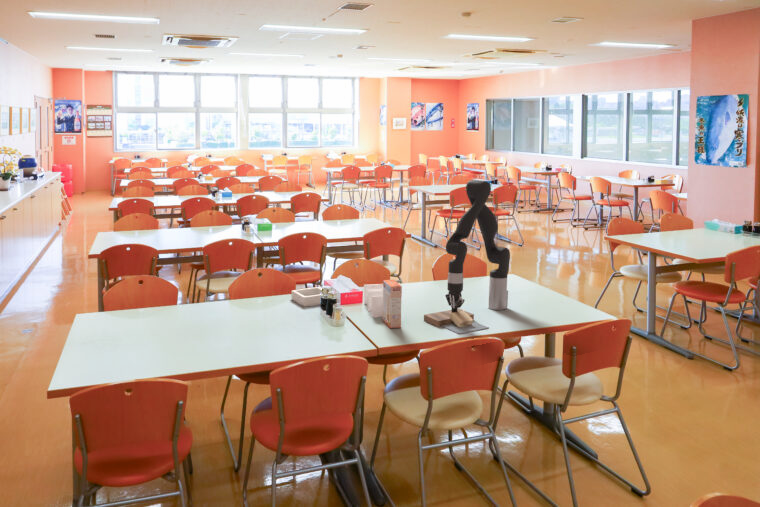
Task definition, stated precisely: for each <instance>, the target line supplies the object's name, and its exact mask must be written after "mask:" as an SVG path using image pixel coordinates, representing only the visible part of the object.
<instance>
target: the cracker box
mask: <svg viewBox="0 0 760 507" xmlns="http://www.w3.org/2000/svg"><path fill="white" fill-rule="evenodd" d="M382 284H383V317H382V321H383V322H384V323H385V325H386V326H387V327H388V328H389V329H398V328H401V327H402V297H403V296H402V295H403V292H402V291H403V290H402V288H403V287H402V285H401V284H399V283H398V282H397V281H396V280H395V279H383V282H382Z"/></svg>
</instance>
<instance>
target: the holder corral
mask: <svg viewBox="0 0 760 507" xmlns="http://www.w3.org/2000/svg"><path fill="white" fill-rule="evenodd" d="M322 289H323V288H322V287H320V286H317V287H316V286H315V287H314V286H313V287H308V288H307V287H306V288H301V289H293V290H291V300H292V301H294V302H296V303H298V304H299V305H301V306H302V307H308V306H309V307H311V306H317V305H318V306H319V305H321V304H320V297H321V294H320V293H321V291H322Z"/></svg>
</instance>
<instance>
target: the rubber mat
mask: <svg viewBox="0 0 760 507" xmlns="http://www.w3.org/2000/svg"><path fill="white" fill-rule="evenodd" d="M441 327H442V328H444V329H447V330H449V331H451V332H453V333H456V334H458V335H462V334H466V333H467V334H468V333H473V332H479V331H483V330H487V329H488V330H489V328H490V327H489V326H486V325H484V324H481V323H479V322H476V321H474V320H473V323H472V325H470V326H464V327H458V326H457V325H456V324H455V323H452V324H447V325H442V326H441Z"/></svg>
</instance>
